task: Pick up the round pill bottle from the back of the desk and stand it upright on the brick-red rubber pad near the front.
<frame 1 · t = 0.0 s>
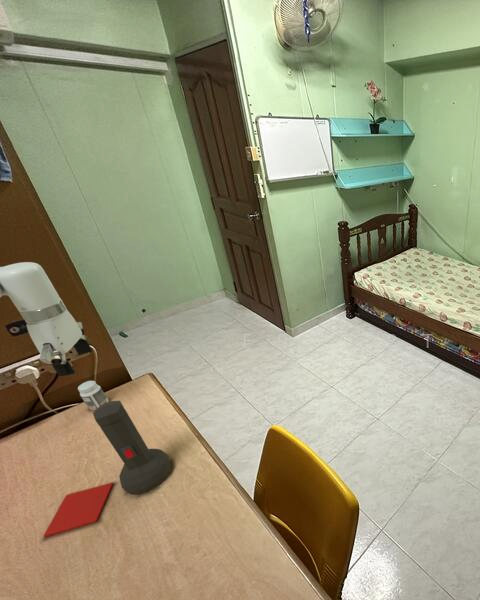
hand: (77, 363, 87), 19 cm above the table, tool pointing down, fingers open, 9 cm apart
red pad: (81, 508, 71), on the table
pill bottle: (99, 405, 98), on the table
flashlight: (149, 476, 78), on the table
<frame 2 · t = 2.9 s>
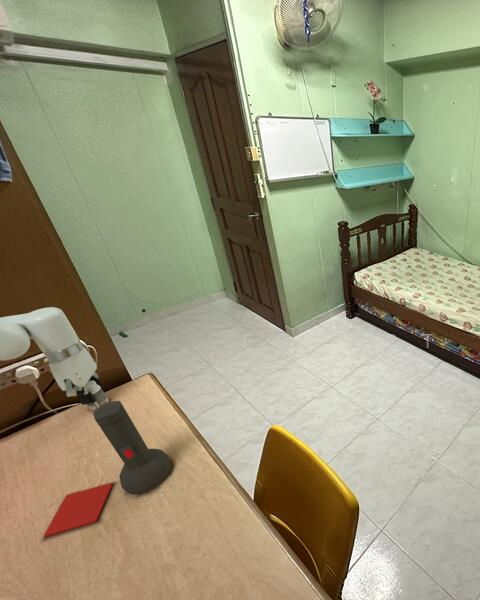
hand: (93, 395, 96), 4 cm above the table, tool pointing down, fingers closed on pill bottle, 4 cm apart
pill bottle: (99, 405, 98), on the table, touching gripper
everything else where it was.
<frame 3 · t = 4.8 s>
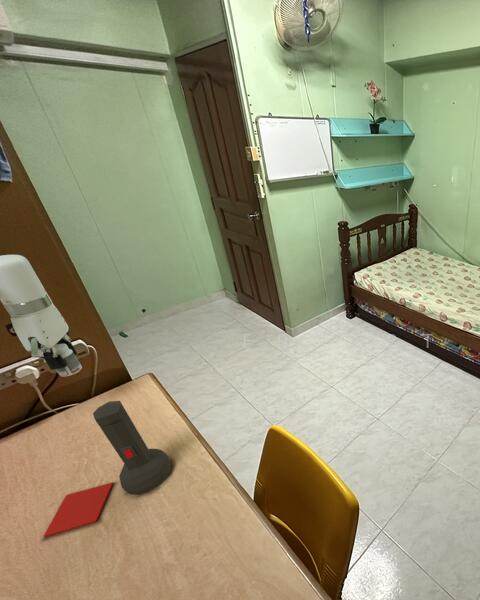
hand: (64, 360, 86), 20 cm above the table, tool pointing down, fingers closed on pill bottle, 4 cm apart
pill bottle: (71, 371, 88), point 16 cm above the table, touching gripper
everything else where it was.
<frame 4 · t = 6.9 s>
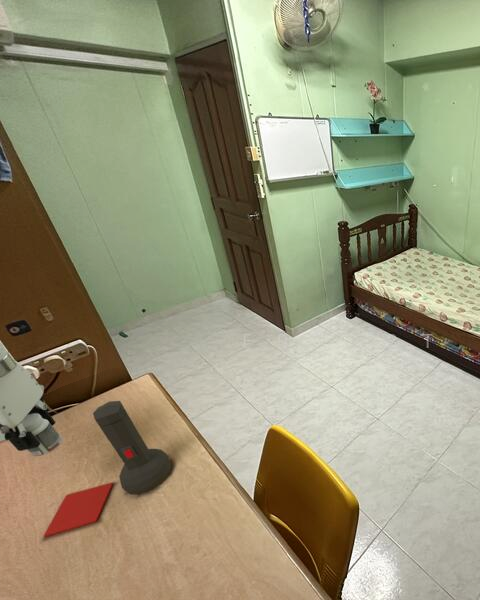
hand: (37, 435, 65), 20 cm above the table, tool pointing down, fingers closed on pill bottle, 4 cm apart
pill bottle: (48, 448, 67), point 16 cm above the table, touching gripper
everything else where it was.
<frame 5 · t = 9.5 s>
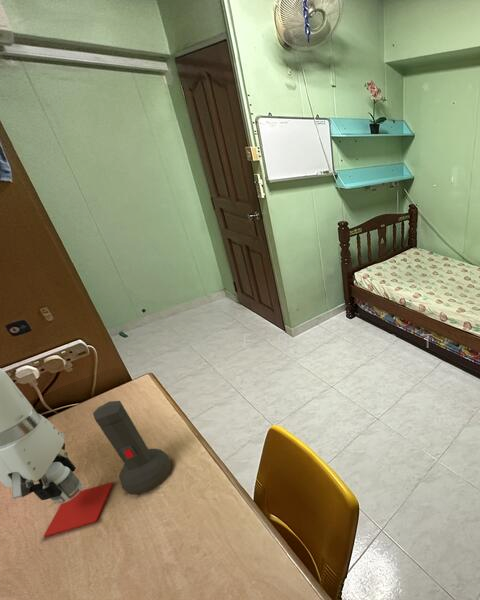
hand: (59, 483, 67), 10 cm above the table, tool pointing down, fingers closed on pill bottle, 4 cm apart
pill bottle: (69, 493, 69), point 6 cm above the table, touching gripper
everything else where it was.
when the fingers open (4 cm above the table, at t = 11.3 s): pill bottle stays where it is, resting on red pad.
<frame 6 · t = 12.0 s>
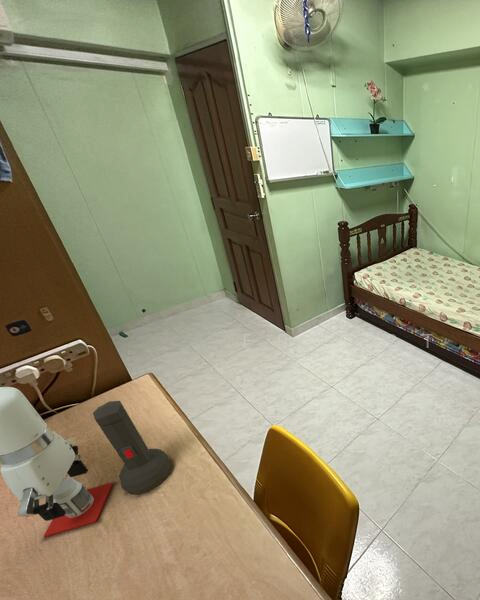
hand: (68, 494, 69), 6 cm above the table, tool pointing down, fingers open, 9 cm apart
pill bottle: (80, 507, 71), resting on red pad
everything else where it was.
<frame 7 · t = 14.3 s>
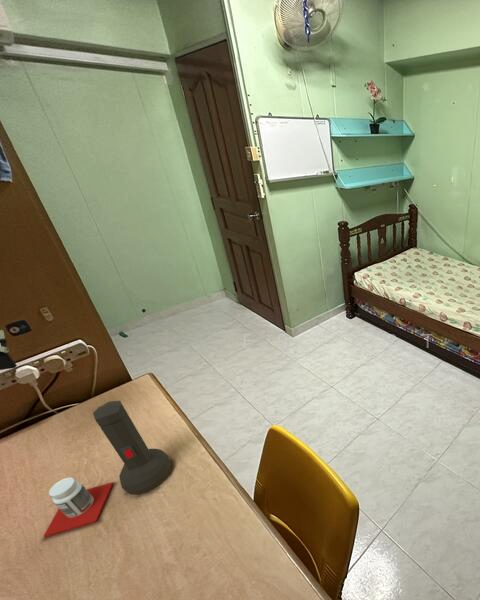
nothing on the table moved.
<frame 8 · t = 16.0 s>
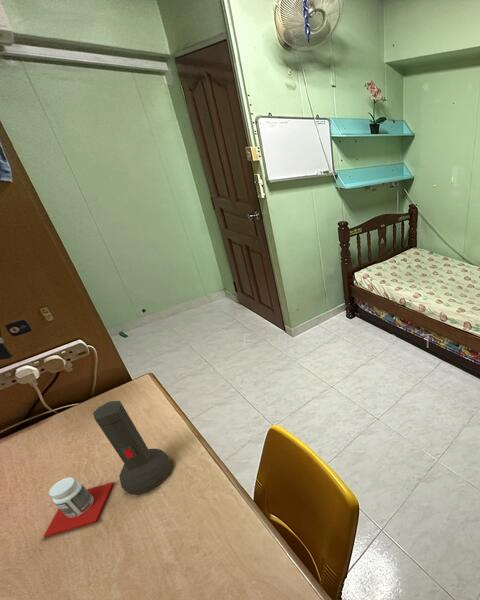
nothing on the table moved.
at the end: pill bottle 0.0 cm off-centre on the red pad, point 0.4 cm above the red pad's base; pill bottle tilted 0°; the gripper is holding nothing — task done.
